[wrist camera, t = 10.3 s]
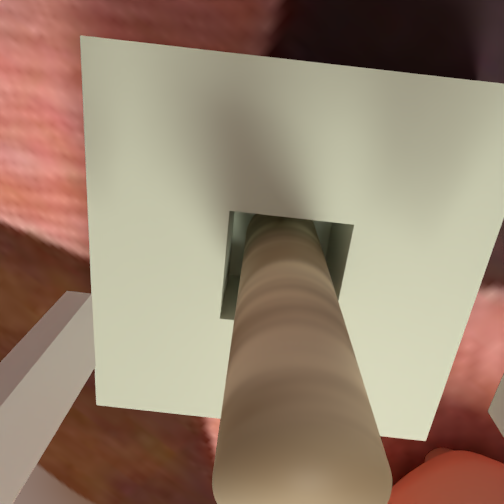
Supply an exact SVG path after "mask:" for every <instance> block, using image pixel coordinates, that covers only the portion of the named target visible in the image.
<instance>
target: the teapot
mask: <svg viewBox="0 0 504 504" xmlns="http://www.w3.org/2000/svg"><path fill="white" fill-rule="evenodd" d="M387 504H504V464H503V463H501V462H499V461H496V460H494V459H491V458H489V457H486V456H484V455H481V454H478V453H474V452H471V451H464V450H457V451H453V450H452V449H449V448H443V447H442V448H436V449H434V450H432V451H430V452H429V453H428V454H427V455H426V457H425V463H423V464H421V465H420V466H418V467H417V468H415V469H414V470H412V471H411V472H409V473H408V474H407V475H405V476H404V477H403V478H402V479H400V480H399V481H398V482H397V483H396V484H395V485H394V486H393V487H392V491H391V495H390V498H389V501H388V503H387Z"/></svg>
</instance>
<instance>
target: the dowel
mask: <svg viewBox="0 0 504 504" xmlns="http://www.w3.org/2000/svg"><path fill="white" fill-rule="evenodd" d="M212 488H213V493H214V497H215V500H216V502H217V504H387V503H388V501H389V498H390V495H391V491H392V474H391V469H390V466H389V463H388V460H387V457H386V453H385V450H384V447H383V444H382V440H381V437H380V434H379V431H378V428H377V424H376V421H375V418H374V415H373V412H372V408H371V405H370V402H369V399H368V395H367V392H366V389H365V386H364V383H363V379H362V376H361V373H360V370H359V367H358V363H357V360H356V357H355V354H354V350H353V347H352V344H351V341H350V338H349V334H348V331H347V328H346V325H345V321H344V318H343V315H342V312H341V309H340V305H339V302H338V299H337V296H336V293H335V289H334V286H333V283H332V280H331V276H330V273H329V270H328V267H327V264H326V260H325V257H324V254H323V251H322V248H321V244H320V241H319V238H318V235H317V231H316V228H315V225H314V223H313V221H312V220H307V219H299V218H290V217H281V216H272V215H263V214H255V215H254V216H253V218H252V219H251V221H250V223H249V225H248V228H247V232H246V239H245V246H244V253H243V261H242V268H241V275H240V282H239V289H238V297H237V304H236V311H235V318H234V325H233V333H232V340H231V347H230V354H229V361H228V369H227V376H226V383H225V390H224V397H223V405H222V412H221V419H220V426H219V433H218V441H217V448H216V455H215V462H214V469H213V477H212Z"/></svg>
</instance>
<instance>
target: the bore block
mask: <svg viewBox="0 0 504 504" xmlns="http://www.w3.org/2000/svg"><path fill="white" fill-rule="evenodd" d="M80 47H81V70H82V92H83V115H84V137H85V160H86V182H87V204H88V227H89V249H90V272H91V294H92V308H93V327H94V346H95V365H96V366H95V384H96V405H101V406H110V407H119V408H129V409H138V410H147V411H156V412H165V413H174V414H183V415H192V416H201V417H210V418H220V419H221V412H222V405H223V397H224V390H225V383H226V376H227V369H228V361H229V354H230V347H231V340H232V333H233V325H234V318H235V311H236V304H237V297H238V289H239V282H240V275H241V268H242V261H243V253H244V246H245V239H246V232H247V228H248V225H249V223H250V221H251V219H252V218H253V216H254V215H255V214H263V215H272V216H281V217H290V218H299V219H307V220H312V221H313V223H314V225H315V228H316V231H317V235H318V238H319V241H320V244H321V248H322V251H323V254H324V257H325V260H326V264H327V267H328V270H329V273H330V276H331V280H332V283H333V286H334V289H335V293H336V296H337V299H338V302H339V305H340V309H341V312H342V315H343V318H344V321H345V325H346V328H347V331H348V334H349V338H350V341H351V344H352V347H353V350H354V354H355V357H356V360H357V363H358V367H359V370H360V373H361V376H362V379H363V383H364V386H365V389H366V392H367V395H368V399H369V402H370V405H371V408H372V412H373V415H374V418H375V421H376V424H377V428H378V431H379V434H380V436H383V437H392V438H401V439H411V440H420V441H426V439H427V436H428V433H429V431H430V428H431V425H432V422H433V419H434V416H435V413H436V411H437V408H438V405H439V402H440V399H441V396H442V393H443V390H444V388H445V385H446V382H447V379H448V376H449V373H450V370H451V368H452V365H453V362H454V359H455V356H456V353H457V350H458V347H459V345H460V342H461V339H462V336H463V333H464V330H465V327H466V324H467V322H468V319H469V316H470V313H471V310H472V307H473V304H474V302H475V299H476V296H477V293H478V290H479V287H480V284H481V281H482V279H483V276H484V273H485V270H486V267H487V264H488V261H489V259H490V256H491V253H492V250H493V247H494V244H495V241H496V238H497V236H498V233H499V230H500V227H501V224H502V221H503V218H504V84H501V83H492V82H483V81H475V80H466V79H457V78H448V77H440V76H431V75H422V74H413V73H405V72H396V71H387V70H379V69H370V68H361V67H352V66H344V65H335V64H326V63H317V62H309V61H300V60H291V59H282V58H274V57H265V56H256V55H247V54H239V53H230V52H221V51H213V50H204V49H195V48H186V47H178V46H169V45H160V44H151V43H143V42H134V41H125V40H116V39H108V38H99V37H90V36H82V35H80Z"/></svg>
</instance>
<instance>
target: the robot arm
mask: <svg viewBox="0 0 504 504" xmlns="http://www.w3.org/2000/svg"><path fill="white" fill-rule="evenodd" d="M95 366H96V365H95V346H94V327H93V308H92V294H89V293H81V292H72V291H66V293H65V294H64V295H63V296H62V297H61V298H60V299H59V300H58V301H57V302H56V303H55V304H54V305H53V306H52V308H51V309H50V310H49V311H48V312H47V313H46V314H45V315H44V316H43V317H42V318H41V319H40V320H39V322H38V323H37V324H36V325H35V326H34V327H33V328H32V329H31V330H30V331H29V332H28V333H27V334H26V335H25V337H24V338H23V339H22V340H21V341H20V342H19V343H18V344H17V345H16V346H15V347H14V348H13V349H12V351H11V352H10V353H9V354H8V355H7V356H6V357H5V358H4V359H3V360H2V361H1V362H0V504H13V503H14V501H15V499H16V498H17V496H18V494H19V492H20V491H21V489H22V488H23V486H24V484H25V483H26V481H27V479H28V478H29V476H30V474H31V473H32V471H33V469H34V468H35V466H36V464H37V463H38V461H39V459H40V458H41V456H42V454H43V453H44V451H45V449H46V448H47V446H48V444H49V443H50V441H51V439H52V438H53V436H54V434H55V433H56V431H57V429H58V428H59V426H60V424H61V423H62V421H63V419H64V418H65V416H66V414H67V413H68V411H69V409H70V408H71V406H72V404H73V403H74V401H75V399H76V398H77V396H78V394H79V393H80V391H81V389H82V388H83V386H84V384H85V383H86V381H87V379H88V378H89V376H90V374H91V373H92V371H93V369H94V368H95ZM488 413H489V415H490V416H491V418H492V419H493V421H494V423H495V424H496V426H497V427H498V429H499V431H500V432H501V434H502V435H503V437H504V374H503V377H502V379H501V381H500V384H499V386H498V388H497V391H496V393H495V395H494V398H493V400H492V402H491V405H490V407H489V409H488Z"/></svg>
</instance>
